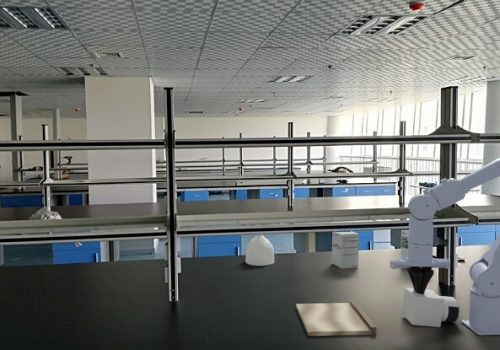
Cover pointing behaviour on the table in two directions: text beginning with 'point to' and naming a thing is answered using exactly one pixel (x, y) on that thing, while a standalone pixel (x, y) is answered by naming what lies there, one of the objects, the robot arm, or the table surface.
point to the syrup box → (404, 244)
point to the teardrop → (259, 252)
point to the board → (335, 319)
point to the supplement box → (345, 249)
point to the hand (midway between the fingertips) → (418, 296)
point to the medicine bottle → (428, 308)
